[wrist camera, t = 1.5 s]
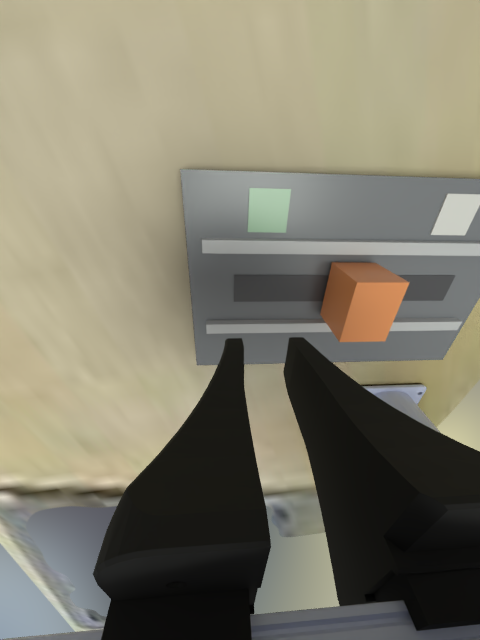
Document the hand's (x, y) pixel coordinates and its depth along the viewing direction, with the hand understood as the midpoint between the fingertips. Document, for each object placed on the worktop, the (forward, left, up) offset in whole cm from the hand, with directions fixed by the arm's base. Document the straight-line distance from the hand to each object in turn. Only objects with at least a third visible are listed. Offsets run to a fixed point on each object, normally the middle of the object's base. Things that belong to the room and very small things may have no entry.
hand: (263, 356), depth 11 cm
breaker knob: (0, -7, -7) cm, 10 cm away
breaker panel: (0, -7, -9) cm, 12 cm away
